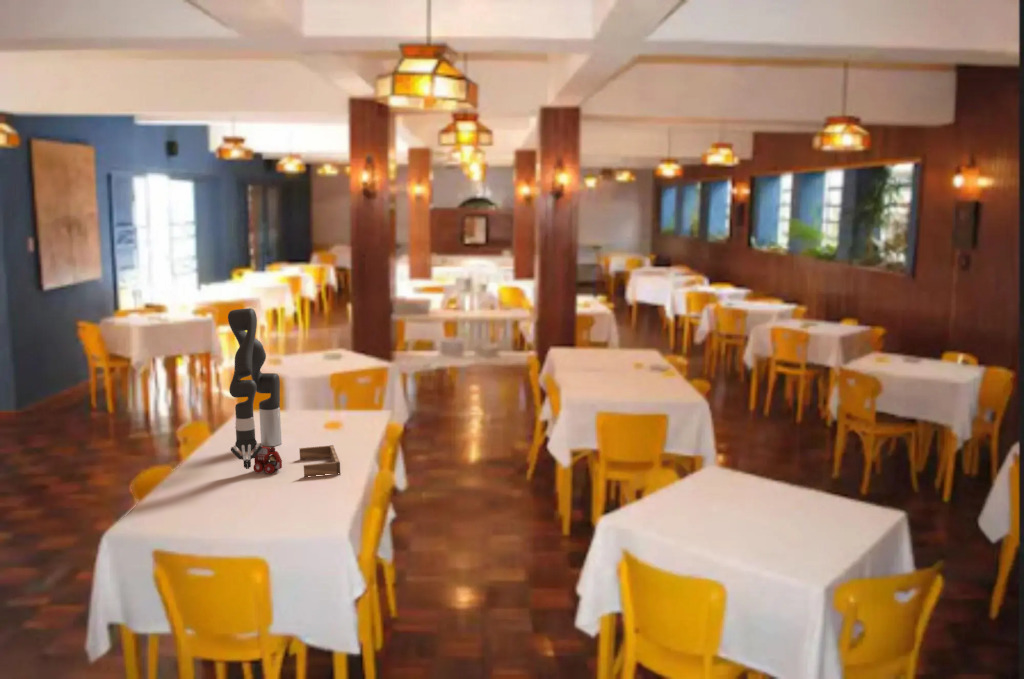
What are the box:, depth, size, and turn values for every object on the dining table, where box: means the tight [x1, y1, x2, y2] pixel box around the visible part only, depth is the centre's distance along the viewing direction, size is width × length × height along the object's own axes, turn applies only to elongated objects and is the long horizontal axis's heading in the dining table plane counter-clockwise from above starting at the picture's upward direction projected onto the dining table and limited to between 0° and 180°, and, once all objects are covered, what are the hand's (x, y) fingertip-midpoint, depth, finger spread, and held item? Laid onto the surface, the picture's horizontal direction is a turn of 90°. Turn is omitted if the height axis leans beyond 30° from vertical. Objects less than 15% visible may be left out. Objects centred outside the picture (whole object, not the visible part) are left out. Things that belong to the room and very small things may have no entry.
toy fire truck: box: [252, 446, 283, 475], centre depth 378 cm, size 7×12×10 cm, turn 74°
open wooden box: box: [299, 444, 341, 478], centre depth 385 cm, size 27×14×5 cm, turn 17°
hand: (247, 468), depth 376 cm, fingers closed
